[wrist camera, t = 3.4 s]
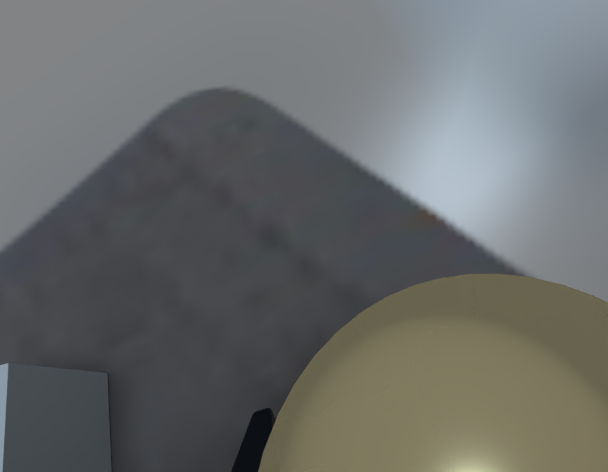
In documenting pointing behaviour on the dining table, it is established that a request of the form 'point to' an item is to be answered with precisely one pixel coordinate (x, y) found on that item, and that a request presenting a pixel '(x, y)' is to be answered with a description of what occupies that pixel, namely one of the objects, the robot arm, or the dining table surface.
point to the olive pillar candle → (455, 384)
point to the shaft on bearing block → (53, 420)
